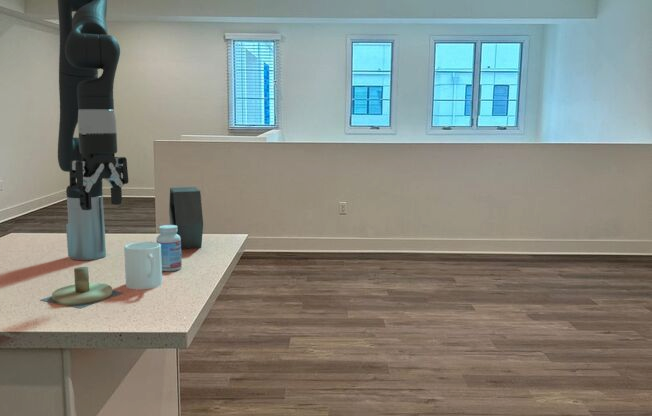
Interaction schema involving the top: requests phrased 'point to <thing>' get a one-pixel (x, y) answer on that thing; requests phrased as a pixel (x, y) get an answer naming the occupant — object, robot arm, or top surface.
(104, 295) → the lid
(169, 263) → the pill bottle
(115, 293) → the mat
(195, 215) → the planter
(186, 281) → the top surface
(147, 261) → the mug
